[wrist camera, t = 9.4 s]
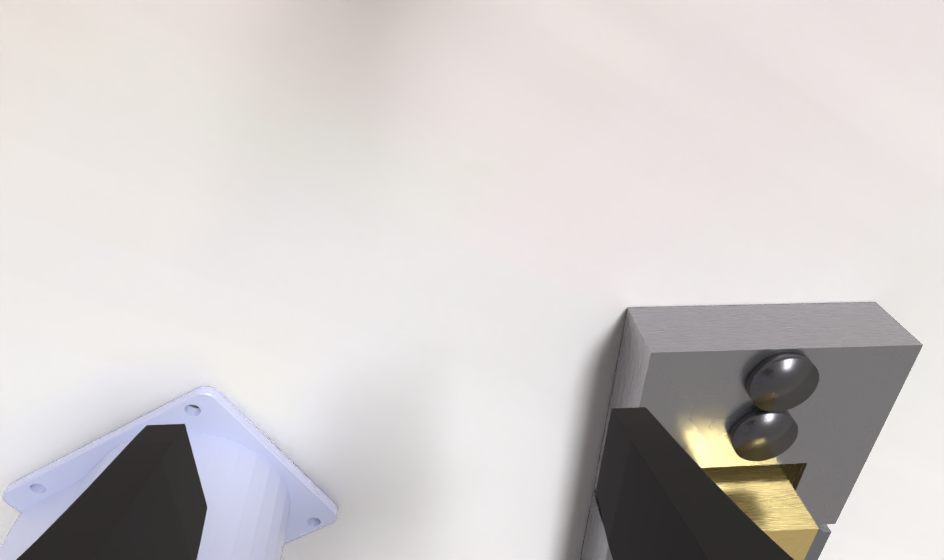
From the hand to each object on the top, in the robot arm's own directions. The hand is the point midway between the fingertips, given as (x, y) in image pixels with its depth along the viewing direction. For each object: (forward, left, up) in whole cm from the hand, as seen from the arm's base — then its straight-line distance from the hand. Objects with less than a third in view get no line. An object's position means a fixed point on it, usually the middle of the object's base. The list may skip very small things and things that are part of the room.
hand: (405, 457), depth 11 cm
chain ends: (+4, -17, -10) cm, 20 cm away
